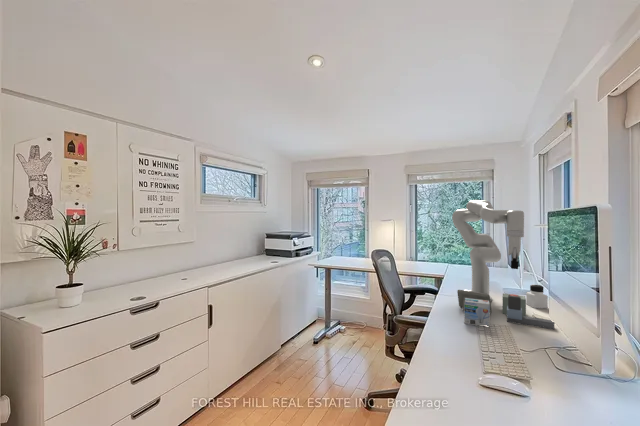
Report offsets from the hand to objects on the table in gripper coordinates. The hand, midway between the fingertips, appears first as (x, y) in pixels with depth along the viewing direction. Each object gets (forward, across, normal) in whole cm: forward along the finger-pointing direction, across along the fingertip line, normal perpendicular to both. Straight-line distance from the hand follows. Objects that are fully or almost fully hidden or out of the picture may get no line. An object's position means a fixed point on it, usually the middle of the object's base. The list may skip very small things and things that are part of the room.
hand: (514, 268), depth 156 cm
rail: (+23, +16, +6) cm, 29 cm away
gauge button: (+18, +2, 0) cm, 18 cm away
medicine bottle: (+24, -20, +10) cm, 33 cm away
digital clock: (+24, +9, -18) cm, 31 cm away
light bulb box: (+23, +29, -14) cm, 40 cm away
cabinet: (+23, +2, 0) cm, 23 cm away
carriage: (+21, +16, 0) cm, 26 cm away
